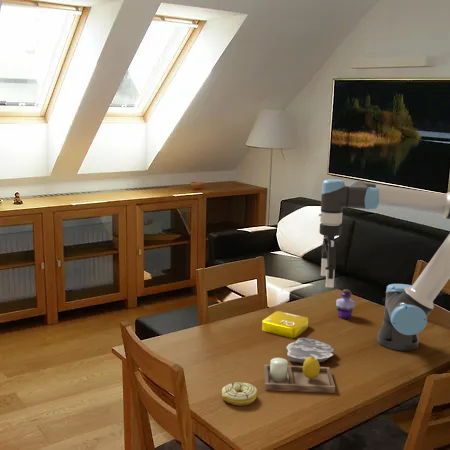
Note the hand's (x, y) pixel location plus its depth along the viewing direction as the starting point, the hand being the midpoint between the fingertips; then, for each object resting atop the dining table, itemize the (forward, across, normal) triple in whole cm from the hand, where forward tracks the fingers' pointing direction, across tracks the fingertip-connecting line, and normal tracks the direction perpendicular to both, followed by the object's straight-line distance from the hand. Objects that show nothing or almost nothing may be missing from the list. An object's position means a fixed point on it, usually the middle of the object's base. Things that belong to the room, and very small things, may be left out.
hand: (326, 281), depth 208 cm
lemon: (+26, +25, -7) cm, 37 cm away
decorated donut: (+27, +38, -30) cm, 56 cm away
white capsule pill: (+26, +25, -18) cm, 40 cm away
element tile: (+27, -20, -12) cm, 36 cm away
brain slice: (+27, +5, -5) cm, 28 cm away
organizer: (+27, +25, -11) cm, 38 cm away
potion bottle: (+27, -36, +14) cm, 47 cm away
